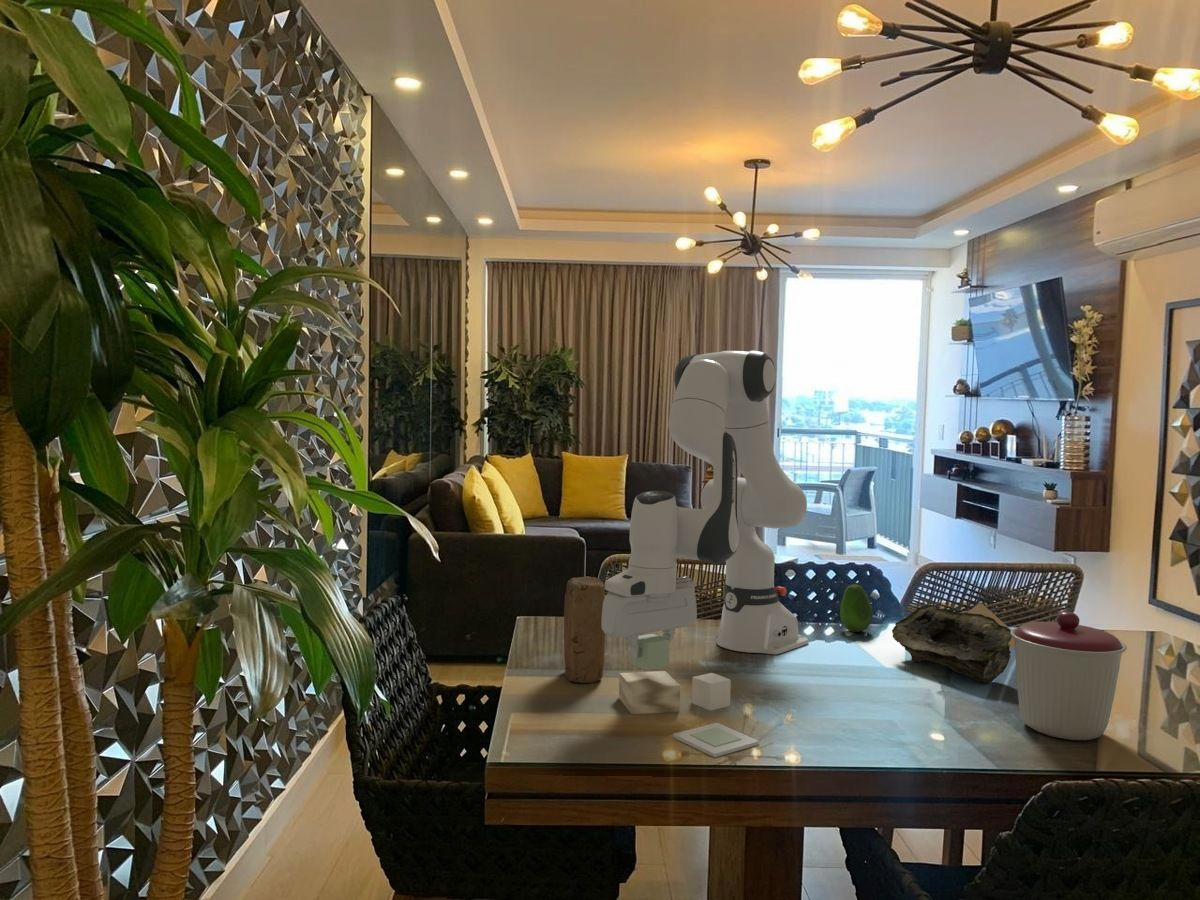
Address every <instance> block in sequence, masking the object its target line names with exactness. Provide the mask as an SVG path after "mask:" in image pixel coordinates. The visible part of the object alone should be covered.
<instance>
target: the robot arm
mask: <svg viewBox="0 0 1200 900" xmlns="http://www.w3.org/2000/svg"><path fill="white" fill-rule="evenodd" d="M775 367H776V366H775V363H774V361H773V360H772V358H771V357H770V355H768V354H767V353H766V352H763V351H759V350H750V351H745V350H744V351H743V350H722V351H718V352H708V353H702V354H698V353H694V354H689V355H687V356H684V357H683V358H682V359H681V360H680V361H679V362H678V363H677V364H676V367H675V369H674V376H673V382H674V387H675V393H674V396H673V400H672V404H671V408H670V412H669V417H668V431H669V434H670V437H671V438H672V440H673V442H674V443H675V444H676V445H677V446H678V447H679V448H680V449H682V450H683V451H685V452H686V453H687V454H689V455H691V456H694V458H695V457H696V458H697V459H700V460H702V461H705V463H708V464H709V465H711V466H712V468H713V469H712V470H713V478H712V479H709V480H708V481H707V483H706V484H705V485H704V486H703V488H702V491H701V495H700V505H701V508H693V507H684V506H683V507H682V506H678V505H677V501H676V496H675V495H674V494H673V493H671V492H669V491H664V490H651V491H644V492H640V493H639V494H637V495H636V496H635V498H634V500H633V503H632V509H631V514H630V515H631V517H630V525H629V538H628V539H629V544H630V557H629V558H628V568H626V569H624V570H623V571H621V572H619V573H617V574H615V575H613V576H612V577H610V578H607V579H606V580H605V583H604V590H605V591H606V592H608V593H606V594H605V598H604V601H603V608H602V622H601V626H602V630H603V631H604V633H605V636H609V637H612V638H615V639H616V638H622V637H625V640H626V642H627V645H628V646H629V656H630V658H631V657H633V658H639V657H642V648H641V647H638V645H637V642H636V640H638V636H639V635H641V634H649V633H654V632H660V631H661V632H662V633H663V634H662V637H663V638H666V639H669V640H670V643H672V640H673V638H674V636H675V634H676V632H675V631H676V630H675V629H679V628H685V627H692V626H694V624H695V623H696V622H697V620H698V619H697V618H698V611H697V607H698V606H697V598H696V592H695V590H696V589H695V587H696V584H695V582H694V580H693V579H692V578H691V577H689V576H687V575H686V576H685V575H684V576H680V577H679V576H677V570H678V569H677V564H678V563H677V559H676V558H678V559H687V560H697V561H700V562H705V563H709V564H713V565H721V564H723V563H724V562H725V582H724V583H723V589H722V590H723V591H722V592H723V593H722V596H723V597H722V599H723V602H724V603H723V606H722V612H721V618H720V625H719V630H718V632H717V639H716V644H717V645H718V646H719V647H722V648H724V649H726V650H730V651H734V652H735V651H736V652H742V653H755V654H756V653H757V654H768V655H779V654H782V653H786V652H788V651H791V650H793V649H797V648H800V647H802V646H806V645H809V639H808V638H807V637H805V636H804V635H802V634H799V623H798V618H797V617H796V616H795V615H794V614H793V613H792V612H791V611H790V610H789V609H787V608H786V607H785V606H784V605H783V604H782V603H781V602H780V601H779V599H780V598H779V596H778V595H780V596H782V597H785V596H786V594H787V592H788V591H787V589H786V587H785V586H781V585H778V586H775V584H774V583H775V559H776V557H775V555H774V554H775V553H774V552H773V550H772V548H771V547H770V546H769V545H768V544H767V543H765V542H763V541H762V540H761V539H760V537H759V535H758V534H757V531H756V528H755V527H759V528H768V529H776V530H777V529H785V528H786V529H787V528H793V527H797V526H798V525H799V524H800V523H801V522H802V521H803V519H804V518H805V515H806V513H807V510H808V508H807V507H808V503H807V497H806V494H805V493H804V491H803V489H802V488H801V487H800V486H799V485H798V484H796V483H795V482H794V481H793V480H792V479H790V477H789V476H788V475H787V474H786V473H785V471H784V470H783V469H782V467H781V466H780V464H779V462H778V460H777V457H776V455H775V452H774V448H773V443H772V436H771V430H770V429H771V428H770V420H769V419H770V418H769V411H768V404H767V400H766V398H768V397H769V396H770V395H771V393H772V392H773V391H774V387H775V383H776V369H775ZM738 471H739V472H740V473H741V474H742V476H743V477H739V476H738Z"/></svg>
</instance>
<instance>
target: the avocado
mask: <svg viewBox="0 0 1200 900" xmlns="http://www.w3.org/2000/svg"><path fill="white" fill-rule="evenodd" d="M839 615H840V616H839V617H840V621H841V623H842V625H843V626H844V628H845V629H847V631H849V632H853V633H858V632H863V631H865V630H867V629H868V628H869V626H870V624H871V621H872V618H873V609H872V605H871V603H870V599H869V598H868V596H867V593H866V591H865V589H864V588H863V587H862V585H859V584H857V583H856V584H850V585H848V586H847V587H846V588H845V590H844V593H843V596H842V599H841V603H840V609H839Z"/></svg>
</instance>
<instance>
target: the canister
mask: <svg viewBox="0 0 1200 900" xmlns="http://www.w3.org/2000/svg"><path fill="white" fill-rule="evenodd" d="M1080 622H1081V621H1080V618H1079V616H1078V615H1077V614H1076V613H1075V612H1072V611H1061V612H1060V613H1058V614H1057V616H1056V621H1031V622H1026V623H1023V624H1021V625H1018V627H1014V628H1011V631H1010V634H1011V636H1012V637H1013V638H1014V643H1015V647H1014V658H1015V659H1014V661H1015V673H1016V687H1017V699H1018V707H1019V712H1020V716H1021V718H1022V720H1023V722H1024V723H1025V724H1026V725H1027V726H1028V727H1029V728H1031V730H1032V729H1033V730H1034V731H1036V732H1038V733H1040V734H1043V735H1046V736H1049V737H1053V738H1058V739H1063V740H1068V741H1090V740H1094V739H1097V738H1099V737H1101V736H1102V735H1103V734H1104V733H1105V731H1106V730H1107V728H1108V725H1109V721H1110V717H1111V713H1112V709H1113V705H1114V698H1115V693H1116V688H1117V682H1118V678H1119V671H1120V667H1121V661H1122V656H1123V655H1122V654H1123V653H1125V652H1126V651H1127V648H1128V646H1127V644H1126V643H1125V642H1124V641H1121V640H1120V639H1119V638H1118V637H1116V636H1115V635H1114V634H1111V633H1109V632H1107V631H1104V630H1102V629H1098V628H1096V627H1091V626H1087V625H1081V624H1080Z"/></svg>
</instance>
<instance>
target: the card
mask: <svg viewBox="0 0 1200 900" xmlns="http://www.w3.org/2000/svg"><path fill="white" fill-rule="evenodd" d="M672 738H673V739H675V740H677V741H680V742H681V743H684V744H686V745H688V746H690V747H692V748H694V749H697V750H698V751H700V752H702V753H705V754H706V755H709V756H711V757H713V758H717V757H721V756H724V755H728V754H731V753H734V752H735V753H736V752H738V751H742V750H744V749H749V748H753V747H755V746H758V745H760V740H758V739H755V738H753V737H751V736H749V735H746V734H744V733H741V732H740V731H737V730H735V729H732V728H730V727H728V726H726V725H723V724H722V723H718V722H715V723H710V724H706V725H702V726H698V727H694V728H690V729H687V730H682V731H679V732H675V733H673V734H672Z"/></svg>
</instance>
